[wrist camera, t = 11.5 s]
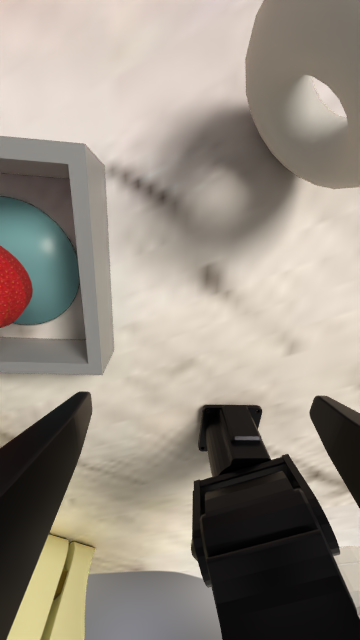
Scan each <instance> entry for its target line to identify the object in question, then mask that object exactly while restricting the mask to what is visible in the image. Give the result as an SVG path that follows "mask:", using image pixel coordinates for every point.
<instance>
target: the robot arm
mask: <svg viewBox="0 0 360 640" xmlns="http://www.w3.org/2000/svg"><path fill="white" fill-rule="evenodd" d="M207 409H209V410H207ZM256 410H257V411H256ZM91 415H92V401H91V394H90V392H78V393H76V394H75V395H73V396H72V397H71V398H69V399H68V400H66V401H65V402H64V403H62V404H61V405H60V406H58V407H57V408H55V409H54V410H53V411H51V412H50V413H48V414H47V415H46V416H44V417H43V418H42V419H40V420H39V421H37V422H36V423H35V424H33V425H32V426H30V427H29V428H28V429H26V430H25V431H24V432H22V433H21V434H19V435H18V436H17V437H15V438H14V439H13V440H11V441H10V442H8V443H7V444H6V445H4V446H3V447H1V448H0V640H7V637H8V635H9V632H10V630H11V627H12V625H13V622H14V620H15V617H16V615H17V612H18V610H19V607H20V605H21V602H22V600H23V597H24V595H25V592H26V590H27V587H28V585H29V582H30V580H31V577H32V575H33V572H34V570H35V567H36V565H37V562H38V560H39V557H40V555H41V552H42V550H43V547H44V545H45V542H46V540H47V537H48V535H49V532H50V530H51V527H52V525H53V522H54V520H55V517H56V515H57V512H58V510H59V507H60V505H61V502H62V500H63V497H64V495H65V492H66V490H67V487H68V485H69V482H70V480H71V477H72V475H73V472H74V470H75V467H76V465H77V462H78V459H79V457H80V454H81V450H82V447H83V444H84V440H85V436H86V433H87V429H88V426H89V422H90V419H91ZM261 415H262V409H261V407H260V406H257V405H205V406H204V407H203V411H202V419H201V427H200V435H199V443H198V447H199V450H200V451H208V456H209V462H210V467H211V473H212V477H211V478H207V479H204V480H196V481H194V491H193V523H192V543H191V551H192V555H193V557H194V558H195V559H196V560H197V561H198V563H199V567H200V571H201V574H202V577H203V580H204V582H205V584H206V586H207V587H212V591H213V595H214V600H215V604H216V609H217V613H218V618H219V622H220V627H221V633H222V639H223V640H360V618H359V616H358V614H357V609H356V607H355V604H354V602H353V599H352V597H351V595H350V593H349V590H348V588H347V586H346V584H345V581H344V579H343V577H342V575H341V572H340V570H339V568H338V566H337V563H336V561H335V559H334V557H333V556H337V555H340V549H339V546H338V543H337V540H336V537H335V535H334V533H333V530H332V528H331V526H330V524H329V522H328V520H327V517H326V515H325V513H324V511H323V510H322V508H321V506H320V504H319V502H318V500H317V499H316V497H315V495H314V494H313V492H312V490H311V489H310V487H309V486H308V484H307V483H306V481H305V480H304V478H303V477H302V475H301V474H300V472H299V470H298V469H297V467H296V466H295V464H294V463H293V461H292V460H291V458H290V457H289V455H288V454H286V455H282V457H280V458H276V459H273V460H271V458H270V456H269V454H268V452H267V450H266V447H265V445H264V443H263V441H262V439H261V436H260V433H259V431H258V427H259V423H260V419H261ZM310 417H311V420H312V422H313V424H314V426H315V428H316V430H317V432H318V434H319V436H320V439H321V441H322V443H323V445H324V447H325V449H326V451H327V453H328V455H329V457H330V459H331V460H332V462H333V464H334V465H335V467H336V469H337V471H338V472H339V474H340V476H341V477H342V479H343V481H344V483H345V484H346V486H347V488H348V489H349V491H350V493H351V494H352V496H353V498H354V500H355V501H356V503H357V505H358V506H359V508H360V413H358V412H356V411H354V410H352V409H350V408H349V407H347V406H345V405H343V404H341V403H339V402H337V401H335V400H334V399H332V398H330V397H328V396H316V397H315V398H314V400H313V403H312V406H311V409H310Z"/></svg>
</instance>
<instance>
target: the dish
mask: <svg viewBox="0 0 360 640" xmlns="http://www.w3.org/2000/svg"><path fill="white" fill-rule="evenodd" d="M339 549H340V555H337V556H333V557H334V559H335V561H336V563H337V566H338V568H339V570H340V572H341V575H342V577H343V579H344V581H345V584H346V586H347V588H348V590H349V593H350V595H351V597H352V599H353V602H354V604H355V607H356V609H357V614H358V616H359V618H360V547H355V546H346V547H339Z"/></svg>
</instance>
